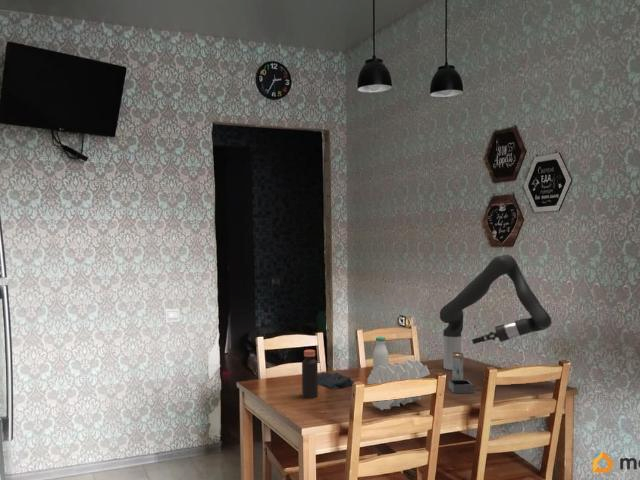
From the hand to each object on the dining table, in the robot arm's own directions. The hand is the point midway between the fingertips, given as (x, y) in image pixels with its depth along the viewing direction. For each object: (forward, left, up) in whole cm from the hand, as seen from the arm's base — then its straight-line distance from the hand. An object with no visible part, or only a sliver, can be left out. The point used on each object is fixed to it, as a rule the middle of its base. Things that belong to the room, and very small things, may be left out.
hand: (473, 341), depth 273 cm
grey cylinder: (0, -8, -20) cm, 21 cm away
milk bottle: (-12, -43, -20) cm, 49 cm away
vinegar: (+19, -78, -20) cm, 82 cm away
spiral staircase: (+34, -42, -20) cm, 58 cm away
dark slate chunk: (-4, -67, -20) cm, 70 cm away
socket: (+13, -10, -20) cm, 25 cm away
